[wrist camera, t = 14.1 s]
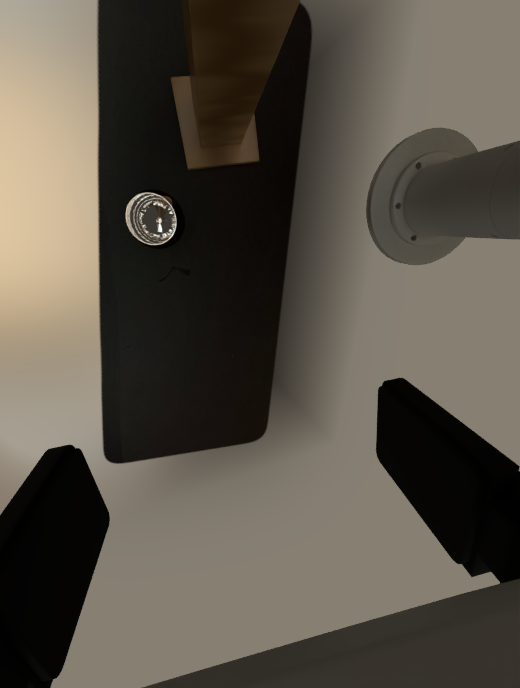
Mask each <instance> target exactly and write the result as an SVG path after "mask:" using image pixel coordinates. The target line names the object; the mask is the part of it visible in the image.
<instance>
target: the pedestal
mask: <svg viewBox="0 0 520 688" xmlns="http://www.w3.org/2000/svg"><path fill="white" fill-rule="evenodd" d="M299 2H300V0H181V7H182V16H183V24H184V33H185V41H186V50H187V58H188V67H189V75H190V76H181V77H171V83H172V89H173V94H174V99H175V104H176V110H177V115H178V120H179V125H180V130H181V136H182V141H183V146H184V151H185V157H186V162H187V167H188V170H197V169H206V168H214V167H223V166H231V165H240V164H248V163H257V162H258V161H259V152H258V143H257V133H256V124H255V115H254V112H255V109H256V107H257V104H258V102H259V99H260V97H261V95H262V92H263V90H264V87H265V85H266V82H267V80H268V77H269V75H270V73H271V70H272V68H273V65H274V63H275V60H276V58H277V56H278V53H279V51H280V48H281V46H282V43H283V41H284V38H285V36H286V34H287V31H288V29H289V26H290V24H291V21H292V19H293V17H294V14H295V12H296V9H297V7H298V4H299Z"/></svg>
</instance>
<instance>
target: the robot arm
mask: <svg viewBox="0 0 520 688" xmlns="http://www.w3.org/2000/svg"><path fill="white" fill-rule="evenodd" d="M415 166H416V167H415ZM395 206H396V207H395ZM390 219H391V222H392V226H393V228H394V230H395V232H396V233H397V234H398V236H399V237H400V238H401V239H402V240H404V241H405V242H407V243H409V244H411V245H416V246H431V245H435V244H437V243H440V242H442V241H443V240H445V239H447V238H448V237H474V238H497V239H520V141H518V142H513V143H510V144H507V145H503V146H499V147H495V148H492V149H488V150H484V151H481V152H477V153H473V154H470V155H466V156H462V157H459V156H457V155H455V154H453V153H451V152H447V151H435V152H431V153H427V154H425V155H422V156H420V157H419V158H417V159H415V160H414V161H412V162H411V163H410V164H409V165H408V166H407V167H406V168H405V169H404V171H403V172H402V173H401V174H400V176H399V178H398V179H397V181H396V183H395V186H394V188H393V191H392V195H391V199H390ZM377 412H378V413H377V442H376V453H377V457H378V459H379V461H380V463H381V464H382V465H383V467H384V468H385V469H386V471H387V472H388V473H389V475H390V476H391V477H392V479H393V480H394V481H395V483H396V484H397V486H398V487H399V488H400V489H401V491H402V492H403V493H404V495H405V496H406V498H407V499H408V500H409V502H410V503H411V504H412V506H413V507H414V508H415V510H416V511H417V513H418V514H419V515H420V516H421V518H422V519H423V521H424V522H425V523H426V524H427V526H428V527H429V529H430V530H431V531H432V533H433V534H434V535H435V537H436V538H437V539H438V541H439V542H440V543H441V545H442V546H443V547H444V549H445V550H446V551H447V553H448V554H449V556H450V557H451V558H452V559H453V560H454V561H455V562H456V563H458V564H462V565H463V566H464V568H465V569H466V570H467V571H468V573H469V574H470V575H471V577H474V576H477V575H481V574H484V573H487V572H492V573H493V574H494V575H495V576H496V578H497V579H498V580H499V581H500V584H498V585H495V586H490V587H487V588H483V589H479V590H475V591H471V592H468V593H464V594H460V595H456V596H453V597H450V598H446V599H443V600H439V601H436V602H432V603H429V604H425V605H422V606H418V607H415V608H411V609H408V610H404V611H401V612H397V613H394V614H391V615H387V616H384V617H380V618H377V619H373V620H370V621H366V622H363V623H359V624H356V625H353V626H349V627H346V628H342V629H339V630H335V631H332V632H328V633H325V634H322V635H318V636H315V637H312V638H308V639H305V640H301V641H298V642H294V643H291V644H288V645H284V646H281V647H277V648H274V649H271V650H267V651H264V652H261V653H257V654H254V655H250V656H247V657H243V658H240V659H237V660H233V661H230V662H227V663H223V664H220V665H216V666H213V667H210V668H206V669H203V670H200V671H196V672H193V673H190V674H186V675H183V676H180V677H176V678H173V679H170V680H167V681H163V682H160V683H157V684H153V685H150V686H147V687H143V688H520V472H519V471H518V470H519V466H518V465H517V464H516V463H514V462H513V461H512V460H510V459H509V458H508V457H506V456H505V455H504V454H502V453H501V452H500V451H499V450H497V449H496V448H495V447H493V446H492V445H491V444H489V443H488V442H487V441H485V440H484V439H482V438H481V437H480V436H479V435H477V434H476V433H475V432H474V431H472V430H471V429H470V428H468V427H467V426H466V425H464V424H463V423H462V422H460V421H459V420H458V419H457V418H455V417H454V416H453V415H451V414H450V413H449V412H447V411H446V410H444V409H443V408H442V407H441V406H439V405H438V404H437V403H435V402H434V401H433V400H431V399H430V398H429V397H428V396H426V395H425V394H424V393H422V392H421V391H419V390H418V389H417V388H416V387H414V386H413V385H412V384H410V383H409V382H408V381H407V380H405V379H403V378H397V379H393V380H387V381H384V382H383V385H382V386H381V387H379V389H378V411H377ZM109 521H110V517H109V512H108V509H107V507H106V505H105V503H104V500H103V498H102V496H101V494H100V491H99V489H98V487H97V485H96V483H95V480H94V478H93V476H92V473H91V471H90V469H89V467H88V464H87V462H86V460H85V458H84V455H83V453H82V451H81V450H80V449H79V448H76V449H75V447H74V446H73V445H66V446H61V447H57V448H52V449H48V450H47V451H46V452H45V453H44V455H43V456H42V457H41V459H40V460H39V462H38V463H37V465H36V466H35V467H34V469H33V470H32V471H31V473H30V474H29V476H28V477H27V478H26V480H25V481H24V483H23V484H22V486H21V487H20V488H19V490H18V491H17V492H16V494H15V495H14V497H13V498H12V499H11V501H10V502H9V504H8V505H7V507H6V508H5V509H4V511H3V512H2V514H1V515H0V688H50V687H51V684H52V681H53V679H55V678H57V677H58V676H59V674H60V672H61V671H62V668H63V665H64V663H65V660H66V656H67V653H68V650H69V647H70V644H71V641H72V638H73V635H74V632H75V628H76V626H77V622H78V619H79V616H80V613H81V610H82V607H83V604H84V601H85V598H86V594H87V591H88V588H89V585H90V582H91V579H92V576H93V573H94V570H95V567H96V564H97V561H98V557H99V554H100V551H101V548H102V545H103V542H104V539H105V535H106V533H107V529H108V526H109Z"/></svg>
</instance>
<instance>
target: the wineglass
mask: <svg viewBox="0 0 520 688" xmlns="http://www.w3.org/2000/svg"><path fill="white" fill-rule="evenodd" d="M125 218H126V223H127V226H128V229H129V231H130V232H131V234H132V235H133V236H134V238H135V239H137V240H138V241H139V242H140V243H142V244H143V245H145V246H147V247H150V248H154V249H164V248H168V247H170V246H173V245H174V244H176V243H177V242H178V241H179V240H180V238H181V237H182V235H183V232H184V229H185V217H184V213H183V210H182V208H181V206H180V205H179V203H178V202H177V201H176V200H175V199H174V198H173V197H172V196H170V195H169V194H167V193H165V192H163V191H160V190H154V189H149V190H144V191H141V192H139V193H137V194H136V195H134V196H133V197H132V198H131V200H130V201H129V203H128V205H127V207H126V213H125Z"/></svg>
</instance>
